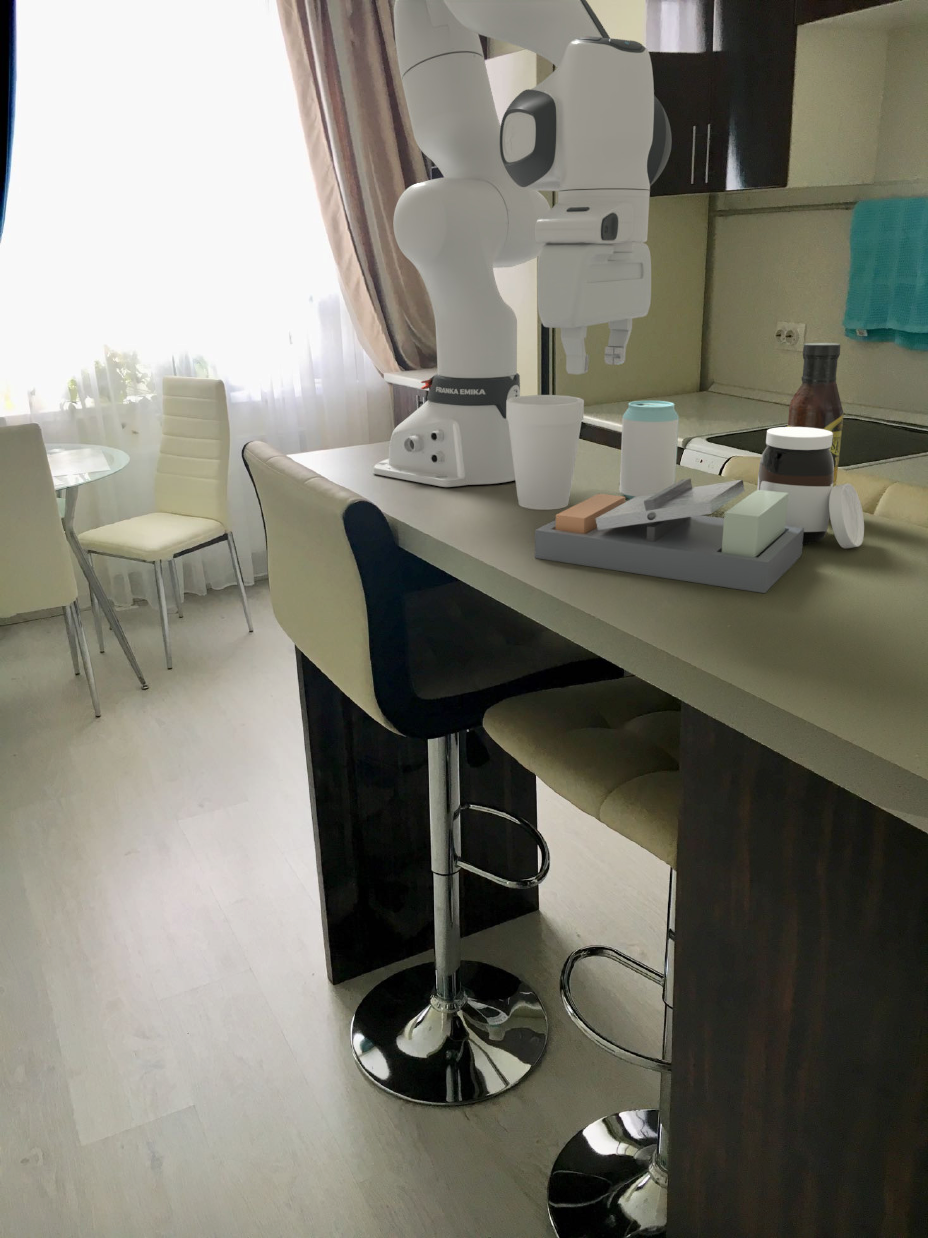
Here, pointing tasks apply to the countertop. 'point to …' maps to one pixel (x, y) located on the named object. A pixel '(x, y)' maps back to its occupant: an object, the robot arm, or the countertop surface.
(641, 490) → the can
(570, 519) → the button terracotta
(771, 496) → the button sage
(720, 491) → the rocker
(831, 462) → the spread jar
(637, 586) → the countertop surface
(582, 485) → the countertop surface
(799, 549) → the grey rectangular tray
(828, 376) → the sauce bottle
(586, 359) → the robot arm
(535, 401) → the foam cup
